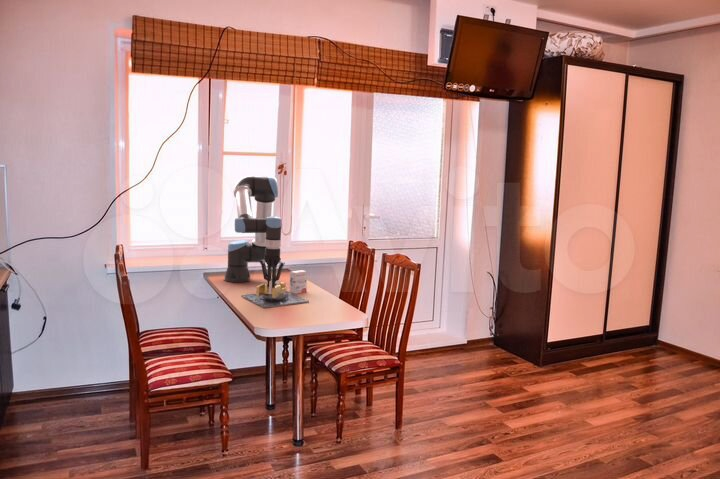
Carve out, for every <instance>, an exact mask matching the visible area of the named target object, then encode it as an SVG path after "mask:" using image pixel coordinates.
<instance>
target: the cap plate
mask: <svg viewBox="0 0 720 479" xmlns="http://www.w3.org/2000/svg"><path fill="white" fill-rule="evenodd" d="M280 283H281V282H279V281H275V286H276V285H280ZM240 297H242V298H244V299H246V300H247V301H249V302H251V303H253V304H255V305H257V306H259V307H261V308H263V309H269V308H270V309H271V308H276V307H283V306H284V307H286V306H292V305H299V304H307V303H308V304H309V303H310V300H308V299H305V298H303V297H302V296H298V294H297V295H296V294H293V293H290V291H288V290H287V292H285V293H284V294H281V295H279V296H278V297H276V298H272V294H262V295H261V296H256V293H249V294H248V293H247V294H241V296H240Z"/></svg>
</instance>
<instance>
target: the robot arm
mask: <svg viewBox="0 0 720 479" xmlns="http://www.w3.org/2000/svg"><path fill="white" fill-rule="evenodd" d="M278 189H279V188H278V180H277V178H276V177H275V176H266V175H265V176H264V175H260V176H258V175H247V176H244V177H242V178H240V179H239V180H238V181H237V182H236V183H235V185H234V187H233V197H234V198H235V200H236V211H237V217H236V218H235V219H234V231H235V233H236V234H237V233H238V234H255V235H254V238H253V239H252V240H251V242H249V241H248V239H245V240H244V239H242V240H241V239H240V240H233V241H231V242H229V243H228V244H227V245H228V246H227V268H226V271H225V273H224V281H226V282H230V283H246V281H247V282H249V280H250V281H251V274H250V271H249V267H248V265H249V263H259V264H260V266H261V270H262V274H263V279H264V280H266V281H267V284H268V285H267V286H268V287H269V294H272V288H273V287H275V282H278V281H279V280H280V277H281V275H282V271H283V268H284V266H285V264H286V263H285V261H282V259H281V245H282V244H281V243H282V242H281V241H282V226H283V224H282V218H281V217H280V216H272V208H273V203H274V202H275V200H276V198H279V190H278ZM252 197H253V198H254V201H255V202H256V212H255V218H254V217H253V209H252V208H253V207H252V201H251V198H252ZM278 265H279V266H278Z"/></svg>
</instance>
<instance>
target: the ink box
mask: <svg viewBox="0 0 720 479" xmlns="http://www.w3.org/2000/svg"><path fill="white" fill-rule="evenodd" d="M307 273H308V272H307V271H306V270H294V271H289V292H290V293H292V294H294V295H296V294H297V295H298V294H302V293H303V294H304V293H307V281H308V280H307V279H308V278H307Z"/></svg>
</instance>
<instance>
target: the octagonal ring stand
mask: <svg viewBox="0 0 720 479" xmlns="http://www.w3.org/2000/svg"><path fill="white" fill-rule="evenodd" d="M267 285H268V283H263V282H262V283H261V284H259V285H256V288H255V292H256V293H255V294H256V296H261V295H262V294H269V287H268V286H267ZM287 291H288V288H287V286H286V282H283V281H282V282H280V285H276V286H275V287H273V288H272V298H276V297H278V296H279V295H281V294H284V293H285V292H287Z"/></svg>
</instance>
